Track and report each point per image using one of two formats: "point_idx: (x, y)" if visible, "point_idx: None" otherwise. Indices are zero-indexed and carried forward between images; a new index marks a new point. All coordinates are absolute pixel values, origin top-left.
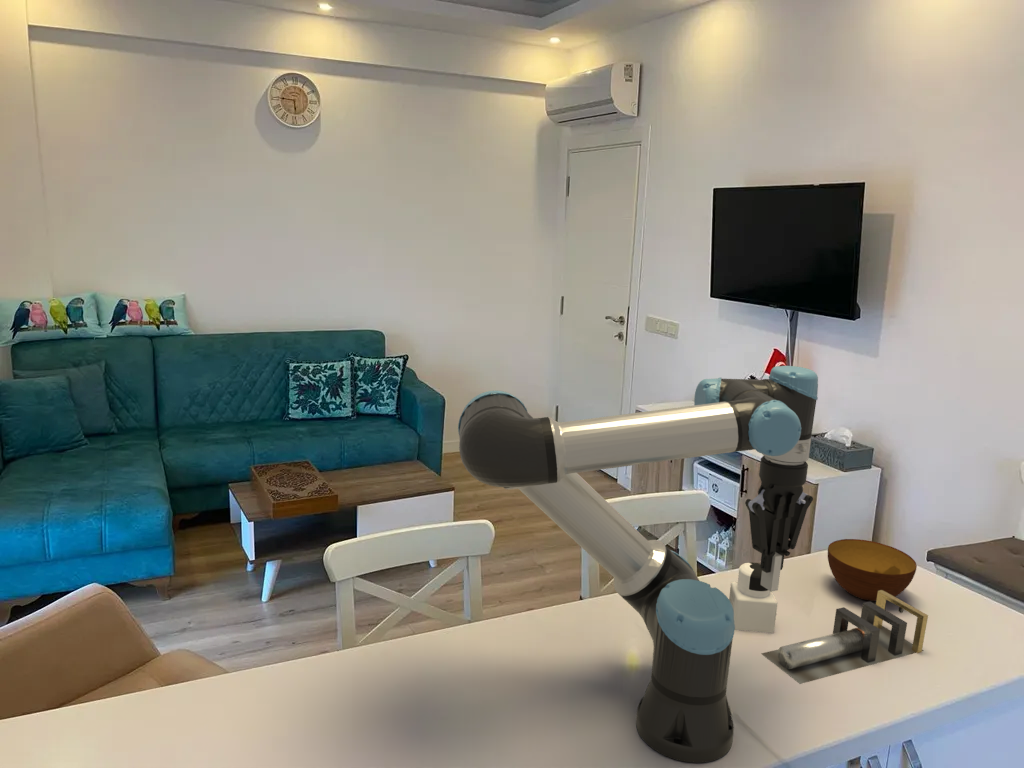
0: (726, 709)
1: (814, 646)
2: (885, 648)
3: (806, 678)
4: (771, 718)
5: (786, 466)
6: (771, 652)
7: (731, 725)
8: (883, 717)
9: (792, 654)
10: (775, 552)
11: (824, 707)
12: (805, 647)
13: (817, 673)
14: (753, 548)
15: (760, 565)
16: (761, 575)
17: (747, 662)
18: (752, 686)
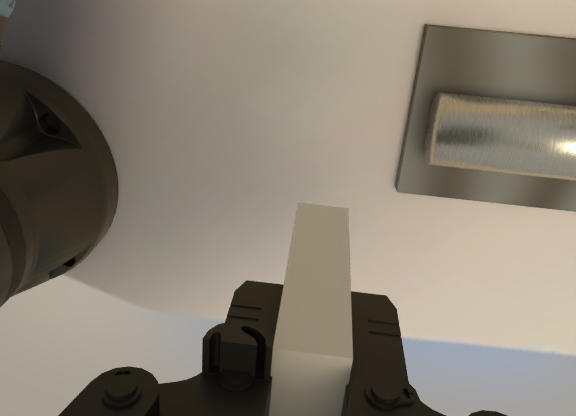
0: (24, 290)
1: (539, 167)
2: None
3: (437, 182)
4: (235, 230)
5: None
6: (466, 37)
7: (77, 258)
8: (478, 334)
9: (434, 160)
10: (334, 408)
11: (387, 258)
12: (503, 160)
13: (489, 181)
14: (111, 372)
15: (233, 298)
16: (293, 229)
17: (368, 22)
18: (287, 121)
